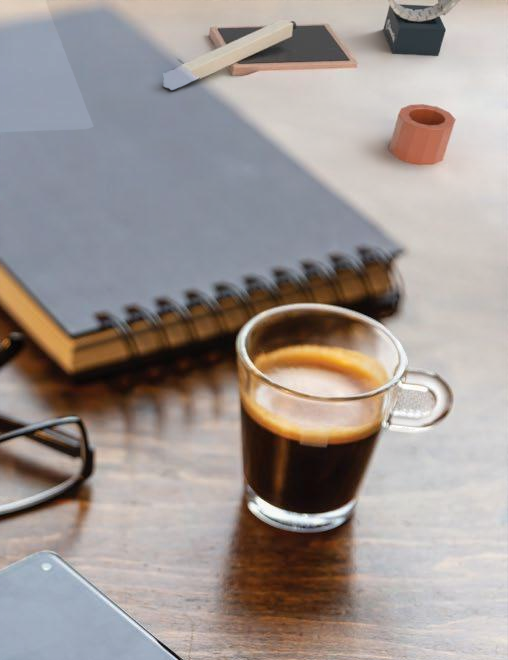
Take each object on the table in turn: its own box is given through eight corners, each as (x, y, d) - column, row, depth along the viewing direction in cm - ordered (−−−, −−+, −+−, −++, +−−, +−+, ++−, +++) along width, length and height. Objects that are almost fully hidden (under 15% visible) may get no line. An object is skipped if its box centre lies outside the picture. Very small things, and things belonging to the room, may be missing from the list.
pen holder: (426, 156, 113) (442, 103, 110) (446, 182, 110) (463, 128, 107) (376, 158, 113) (391, 105, 110) (394, 184, 110) (410, 130, 107)
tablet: (325, 31, 132) (327, 22, 132) (355, 72, 126) (358, 62, 125) (208, 35, 132) (210, 25, 131) (232, 75, 125) (234, 66, 124)
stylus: (288, 15, 128) (162, 73, 122) (299, 20, 127) (172, 77, 121) (287, 29, 128) (162, 86, 123) (298, 33, 128) (172, 91, 122)
